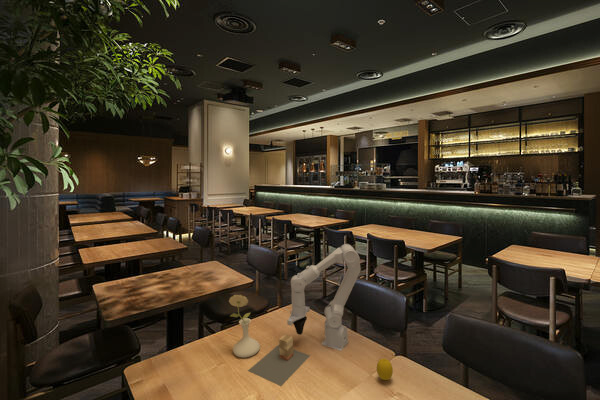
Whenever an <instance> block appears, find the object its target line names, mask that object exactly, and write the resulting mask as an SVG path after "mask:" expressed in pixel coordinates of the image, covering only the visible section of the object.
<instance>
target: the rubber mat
mask: <svg viewBox="0 0 600 400" xmlns="http://www.w3.org/2000/svg"><path fill="white" fill-rule="evenodd" d="M310 357H311V355H310V354H307V353H306V352H302V351H299V350H296V349H295V348H293V356H292V357H291V358H290V359H289V360H288V361H287V360H284V359H282V358H280V350H279V344H277V345H276V346H275V347H274V348H272V350H270V351H269V352H267V353H266V354H265V355H264V356H263V357H262V358H261V359H260V360H259V361H257V362H256V363H255V364H254V365H252V367H250V368H249V369H247V371H248V372H249V373H252V374H254V375H255V376H258V377H259V378H262V379H264V380H267V381H268V382H271V383H273V384H276V386H277V385H278V386H280V387H282V386H283V385H284V384H285V383H286V382H288V380H289V378H291V377H292V376H293V375H294V373H295V372H296V371H297V370H298V369H299V368H300V367H301V366H302V365H303V364H304V363H305V362H306V361H307V360H308V359H309V358H310Z"/></svg>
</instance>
